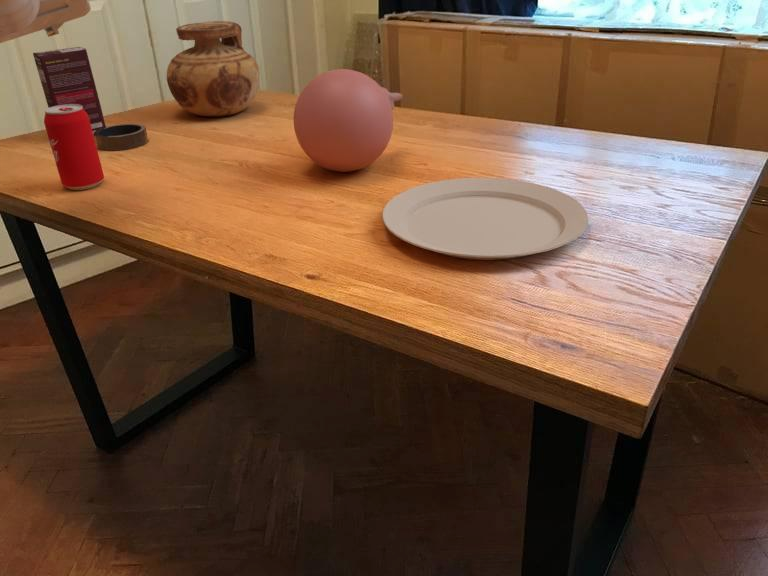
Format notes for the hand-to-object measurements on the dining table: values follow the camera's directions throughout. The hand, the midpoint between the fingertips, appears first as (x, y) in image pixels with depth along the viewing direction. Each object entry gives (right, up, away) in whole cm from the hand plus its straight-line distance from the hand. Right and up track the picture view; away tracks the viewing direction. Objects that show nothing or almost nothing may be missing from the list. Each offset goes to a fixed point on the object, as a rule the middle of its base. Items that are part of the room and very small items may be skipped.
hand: (16, 41), depth 89 cm
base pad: (+1, -6, +34) cm, 35 cm away
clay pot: (+14, +4, +53) cm, 55 cm away
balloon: (+46, -14, +18) cm, 51 cm away
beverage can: (+3, -17, +14) cm, 23 cm away
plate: (+62, -26, -5) cm, 68 cm away
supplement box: (-10, -3, +41) cm, 42 cm away
